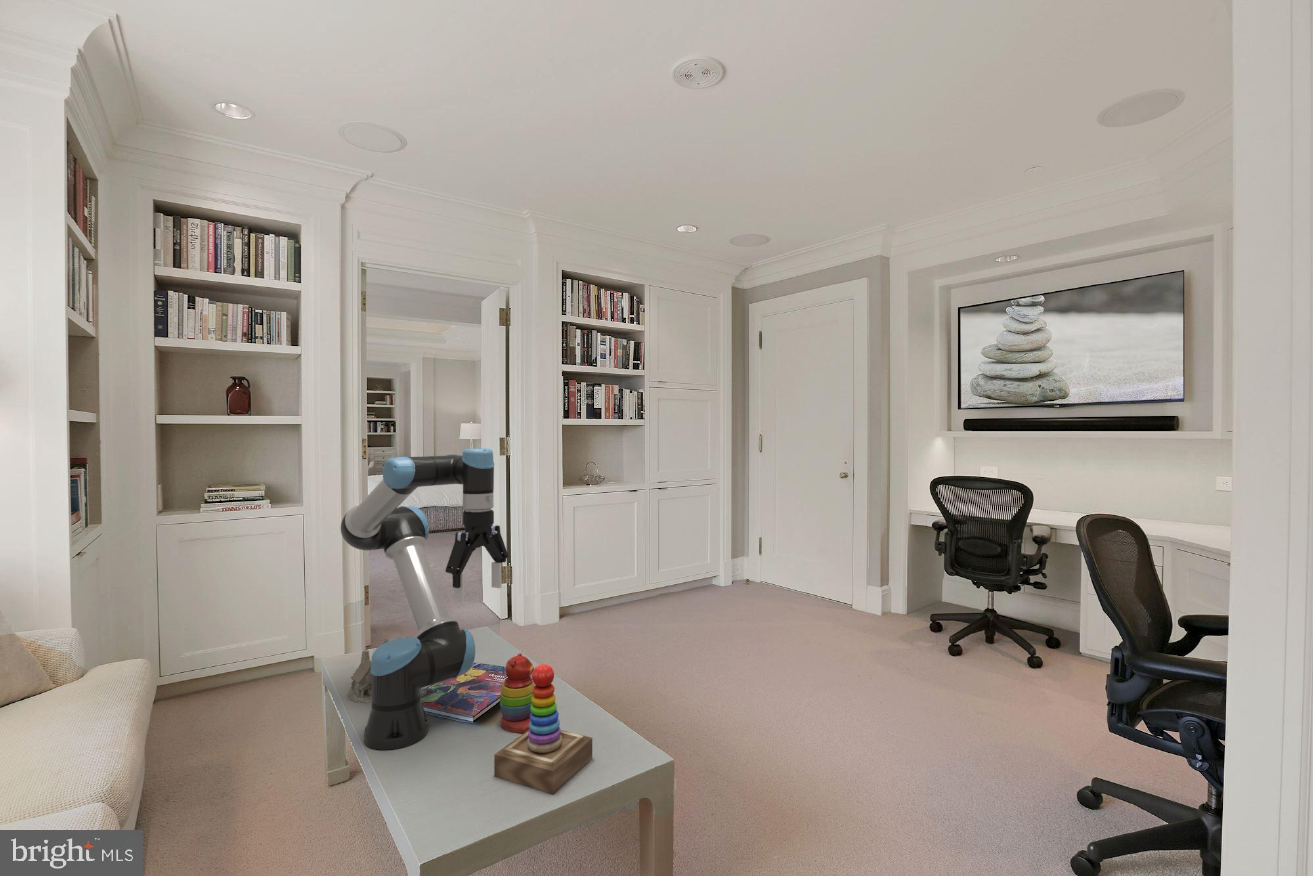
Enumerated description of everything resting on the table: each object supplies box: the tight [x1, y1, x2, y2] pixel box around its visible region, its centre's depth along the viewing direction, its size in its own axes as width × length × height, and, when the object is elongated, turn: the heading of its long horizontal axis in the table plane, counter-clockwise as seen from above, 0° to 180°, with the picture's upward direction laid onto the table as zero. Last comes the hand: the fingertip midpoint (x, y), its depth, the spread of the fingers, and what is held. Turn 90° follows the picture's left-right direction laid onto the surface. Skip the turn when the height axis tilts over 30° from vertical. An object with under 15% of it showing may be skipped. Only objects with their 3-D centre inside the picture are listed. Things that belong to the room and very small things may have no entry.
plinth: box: [493, 729, 593, 795], centre depth 144 cm, size 16×16×6 cm
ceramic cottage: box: [347, 638, 389, 704], centre depth 183 cm, size 16×16×15 cm
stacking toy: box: [527, 663, 562, 753], centre depth 144 cm, size 8×8×19 cm
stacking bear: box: [499, 652, 535, 734], centre depth 166 cm, size 11×10×18 cm
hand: (478, 593), depth 157 cm, fingers open, 13 cm apart
